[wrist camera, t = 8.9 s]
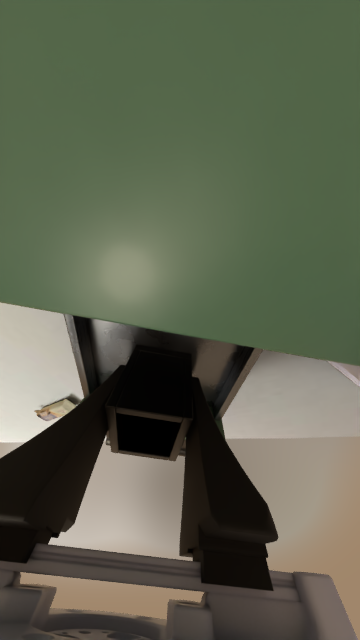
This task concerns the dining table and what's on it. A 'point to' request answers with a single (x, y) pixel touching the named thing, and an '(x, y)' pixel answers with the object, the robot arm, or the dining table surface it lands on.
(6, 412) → the dining table surface
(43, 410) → the granola bar
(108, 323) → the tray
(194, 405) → the robot arm
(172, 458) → the black tin
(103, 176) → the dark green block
